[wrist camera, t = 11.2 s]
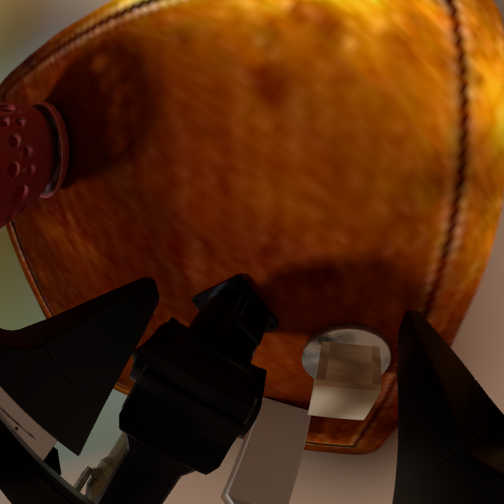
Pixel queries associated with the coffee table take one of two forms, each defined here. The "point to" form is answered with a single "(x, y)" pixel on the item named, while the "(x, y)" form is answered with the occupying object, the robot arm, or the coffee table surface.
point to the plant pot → (30, 156)
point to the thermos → (101, 471)
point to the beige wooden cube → (346, 381)
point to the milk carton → (269, 456)
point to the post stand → (347, 336)
